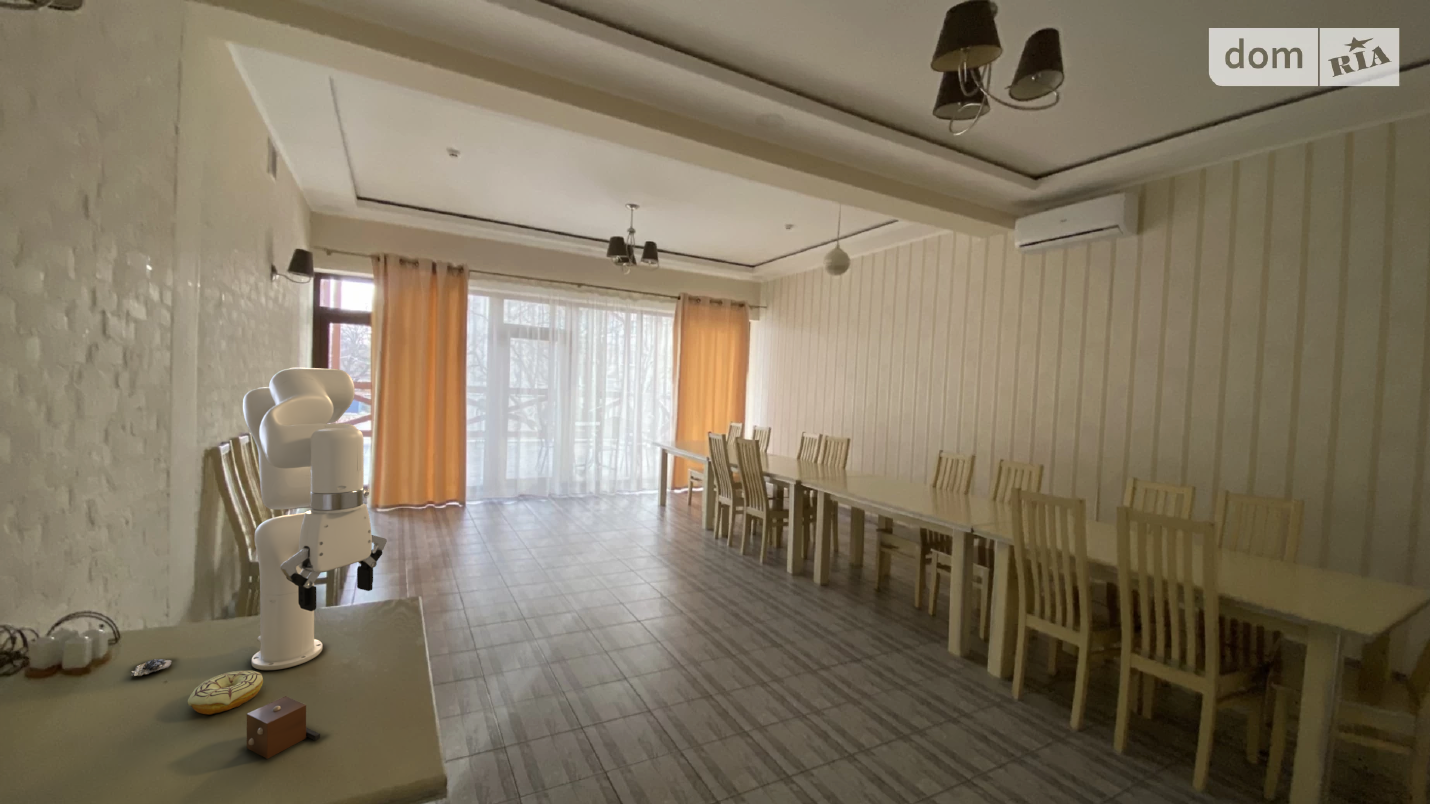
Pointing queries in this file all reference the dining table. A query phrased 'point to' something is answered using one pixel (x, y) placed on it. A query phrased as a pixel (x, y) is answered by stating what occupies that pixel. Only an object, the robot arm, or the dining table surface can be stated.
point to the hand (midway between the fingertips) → (337, 598)
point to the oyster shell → (151, 667)
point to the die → (276, 726)
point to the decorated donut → (225, 691)
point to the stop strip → (312, 734)
